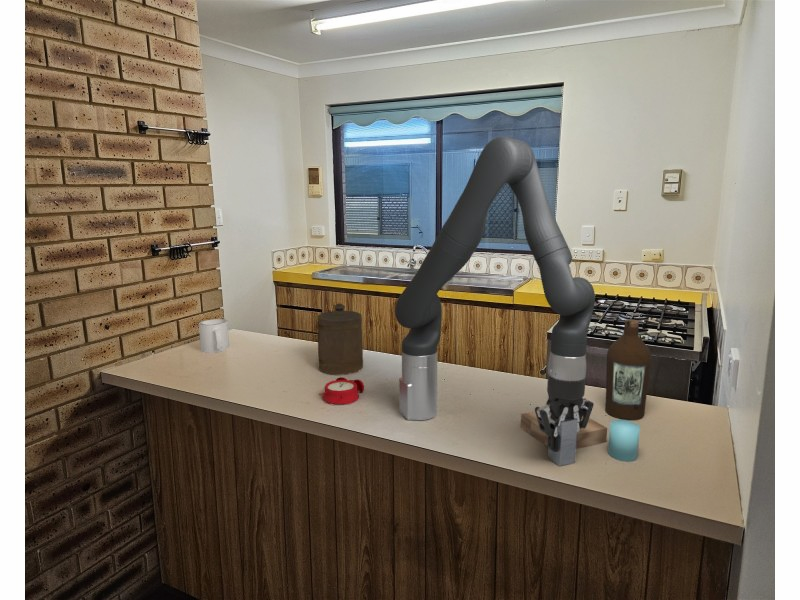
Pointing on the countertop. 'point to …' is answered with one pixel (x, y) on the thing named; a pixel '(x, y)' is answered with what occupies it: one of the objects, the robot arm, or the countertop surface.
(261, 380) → the countertop surface
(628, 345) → the brown bottle
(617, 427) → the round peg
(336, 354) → the wooden container
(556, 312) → the robot arm
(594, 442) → the socket block
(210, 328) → the mug
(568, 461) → the square peg
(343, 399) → the alarm clock
